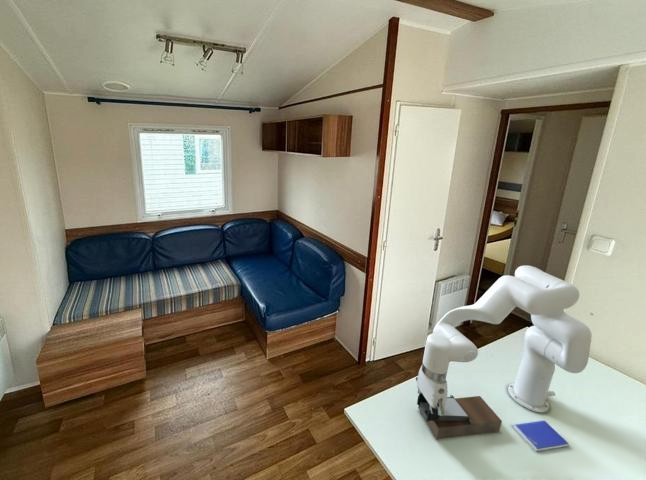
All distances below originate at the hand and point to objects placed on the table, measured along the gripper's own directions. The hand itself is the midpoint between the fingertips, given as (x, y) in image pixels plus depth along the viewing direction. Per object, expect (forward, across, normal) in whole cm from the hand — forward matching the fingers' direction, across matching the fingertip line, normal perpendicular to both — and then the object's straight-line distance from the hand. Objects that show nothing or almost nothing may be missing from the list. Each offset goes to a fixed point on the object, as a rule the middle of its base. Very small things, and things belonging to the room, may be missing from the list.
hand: (426, 411), depth 102 cm
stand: (+7, 0, -14) cm, 15 cm away
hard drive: (+7, -8, -39) cm, 40 cm away
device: (-2, 0, -6) cm, 6 cm away
